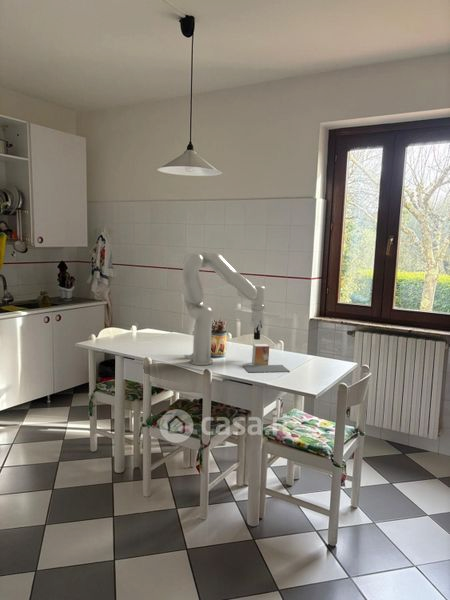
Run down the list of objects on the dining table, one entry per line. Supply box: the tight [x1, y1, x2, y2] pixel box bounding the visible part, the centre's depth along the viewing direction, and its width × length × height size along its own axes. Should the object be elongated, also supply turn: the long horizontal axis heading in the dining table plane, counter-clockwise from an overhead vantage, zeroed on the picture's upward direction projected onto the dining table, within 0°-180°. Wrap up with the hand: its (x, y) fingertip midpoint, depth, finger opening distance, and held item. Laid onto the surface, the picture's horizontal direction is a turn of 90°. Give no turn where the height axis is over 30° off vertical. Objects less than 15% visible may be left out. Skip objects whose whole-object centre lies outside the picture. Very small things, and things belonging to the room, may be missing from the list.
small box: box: [251, 343, 270, 365], centre depth 245 cm, size 8×6×10 cm
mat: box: [242, 364, 291, 374], centre depth 235 cm, size 22×12×1 cm, turn 102°
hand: (256, 339), depth 255 cm, fingers closed
